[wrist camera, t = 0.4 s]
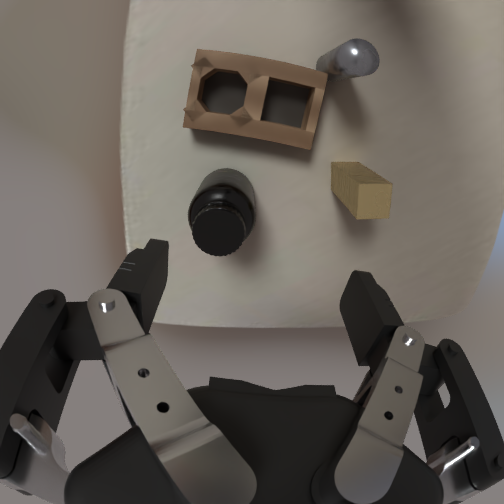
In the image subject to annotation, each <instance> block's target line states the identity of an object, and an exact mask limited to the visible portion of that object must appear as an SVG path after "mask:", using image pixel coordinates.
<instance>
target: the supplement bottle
mask: <svg viewBox="0 0 504 504" xmlns="http://www.w3.org/2000/svg"><path fill="white" fill-rule="evenodd" d="M255 219H256V212H255V201H254V192H253V187H252V185H251V183H250V181H249V179H248V178H247V177H246V176H245V175H244V174H242V173H241V172H239V171H237V170H234V169H228V168H224V169H218V170H216V171H213V172H212V173H210V174H209V175H208V176H207V177H206V178H205V179H204V180H203V182H202V183H201V185H200V187H199V188H198V190H197V192H196V194H195V196H194V198H193V199H192V201H191V203H190V206H189V210H188V221H189V225H190V228H191V230H192V235H193V239H194V241H195V244H197V245H198V247H199V248H200V249H201V250H202V251H204V252H205V253H207V254H210V255H214V256H226V255H228V254H231V253H232V252H235V251H236V250H237V249H239V246H241V245H242V242H243V241H244V240H245V239H247V237H248V236H249V235H250V234H251V232H252V230H253V228H254V225H255Z"/></svg>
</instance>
